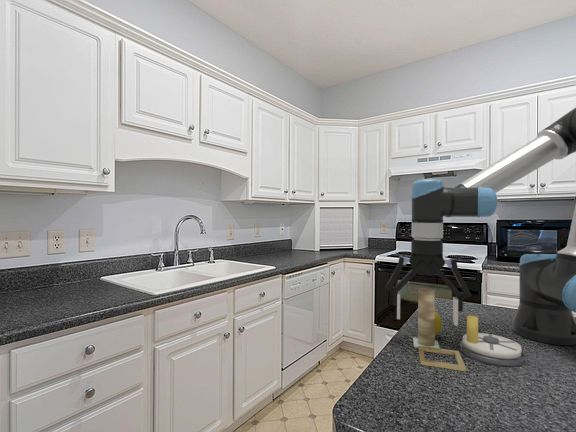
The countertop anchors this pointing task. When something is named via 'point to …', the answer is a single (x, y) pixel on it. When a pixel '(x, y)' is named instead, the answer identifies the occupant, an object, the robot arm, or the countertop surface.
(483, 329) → the countertop surface
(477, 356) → the wheel base
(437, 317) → the lemon
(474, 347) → the handwheel
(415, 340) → the coaster
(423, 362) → the square gold frame
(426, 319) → the dowel
